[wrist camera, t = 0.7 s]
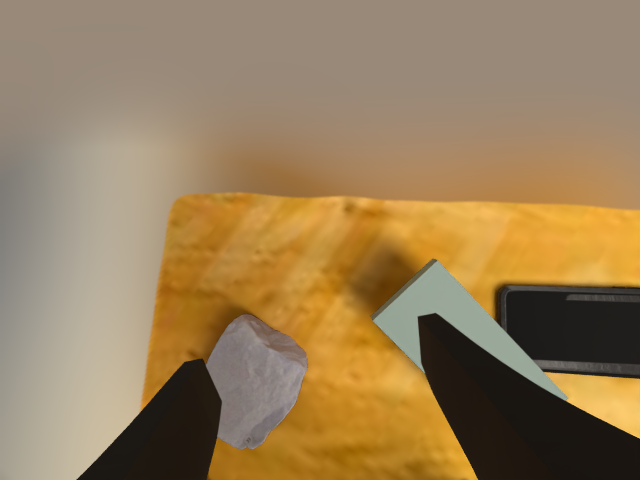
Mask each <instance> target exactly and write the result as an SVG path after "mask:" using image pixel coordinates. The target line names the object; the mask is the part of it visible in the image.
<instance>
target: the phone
mask: <svg viewBox="0 0 640 480" xmlns="http://www.w3.org/2000/svg"><path fill="white" fill-rule="evenodd" d="M498 325H499V326H500V327H501V328H502V329H503V330H504V331H505V332H506V333H507V334H508V335H509V336H510V337H511V338H512V339H513V340H514V342H515V343H516V344H517V345H518V346H519V347H520V348H521V349H522V350H523V351H524V352H525V353H526V354H527V355H528V356H529V357H530V358H531V359H532V361H533V362H534V363H535V364H536V365H537V366H538V367H539V368H540V369H541V370H542V371H543V372H551V373H566V374H580V375H594V376H608V377H623V378H637V379H640V288H627V289H626V288H625V287H613V288H591V287H556V286H520V285H508V286H504V287H502V288H501V289H500V290H499V292H498Z"/></svg>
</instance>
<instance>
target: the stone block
mask: <svg viewBox="0 0 640 480" xmlns="http://www.w3.org/2000/svg"><path fill="white" fill-rule="evenodd" d="M206 367H207V369H208V371H209V374H210V376H211V378H212V380H213V382H214V385H215V387H216V389H217V391H218V393H219V396H220V398H221V400H222V407H221V415H220V423H219V429H218V435H217V437H218V438H220V439H221V440H223V441H224V442H226V443H228V444H230V445H231V446H233V447H235V448H237V449H240V450H242V449H244V448H246V447H248V448H249V449H254V448H255V447H258V446H260V445H261V444H262V443H263V442H264V441H265V439H266V437H267V436H268V434H269V433H270V432H271V431H272V430H273V429H274V428H275V427H276V426H277V425H279V424H280V422H281V421H282V420H283V419H284V418H285V417H286V415H287V414H288V412H289V411H290V410H291V409H292V407H293V406H294V405H295V403H296V401H297V398H298V394H299V392H300V389H301V386H302V381H303V377H304V375H305V373H306V371H307V368H308V362H307V357H306V352H305V351H304V350H303V349H302V348H301V347H300V346H299V345H298V344H297V343H296V342H295V341H294V340H293V339H292V338H291V337H290V336H287V335H285V334H282V333H281V332H280V331H276V330H273V329H272V328H270V327H269V326H268V325H267V324H265V323H264V322H263V321H261V320H259V319H258V318H256V317H254V316H253V315H249V314H244V315H241V316H239V317H238V318H235V319H234V320H233V321H232V322H231V323H230V324H229V325H228V327H227V328H226V330H225V331H224V332H223V334H222V335H221V337H220V338H219V340H218V342H217V344H216V346H215V348H214V349H213V351H212V353H211V355H210V357H209V359H208V361H207V364H206Z"/></svg>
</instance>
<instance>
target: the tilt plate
mask: <svg viewBox="0 0 640 480" xmlns="http://www.w3.org/2000/svg"><path fill="white" fill-rule="evenodd" d="M432 313H437V314H439V315H440V316H441V317H443V318H444V319H445V320H446V321H448V322H449V323H450V324H451V325H453V326H454V327H455V328H457V329H458V330H459V331H460V332H462V333H463V334H464V335H466V336H467V337H468V338H470V339H471V340H472V341H474V342H475V343H476V344H478V345H479V346H480V347H482V348H483V349H485V350H486V351H488V352H489V353H490V354H492V355H493V356H495V357H496V358H497V359H499V360H500V361H502V362H503V363H505V364H506V365H508V366H509V367H511V368H512V369H514V370H515V371H517V372H518V373H520V374H521V375H523V376H524V377H526V378H528V379H529V380H531V381H532V382H534V383H536V384H537V385H539V386H541V387H542V388H544V389H546V390H547V391H549V392H551V393H553V394H554V395H556V396H558V397H560V398H561V399H563V400H565V401H566V400H567V399H568V397H567V396H566V395H565V394H564V393H563V392H562V391H561V390H560V389H559V388H558V387H557V386H556V385H555V384H554V383H553V382H552V381H551V380H550V378H549V377H548V376H547V375H546V374H545V373H544V372H543V371H542V370H541V369H540V368H539V367H538V366H537V365H536V364H535V363H534V362H533V361H532V359H531V358H530V357H529V356H528V355H527V354H526V353H525V352H524V351H523V350H522V349H521V348H520V347H519V346H518V345H517V344H516V343H515V342H514V340H513V339H512V338H511V337H510V336H509V335H508V334H507V333H506V332H505V331H504V330H503V329H502V328H501V327H500V326H499V325H498V324H497V322H496V321H495V320H494V319H493V318H492V317H491V316H490V315H489V314H488V313H487V312H486V311H485V310H484V309H483V308H482V307H481V306H480V305H479V303H478V302H477V301H476V300H475V299H474V298H473V297H472V296H471V295H470V294H469V293H468V292H467V291H466V290H465V289H464V288H463V287H462V286H461V284H460V283H459V282H458V281H457V280H456V279H455V278H454V277H453V276H452V275H451V274H450V273H449V272H448V271H447V270H446V269H445V268H444V267H443V265H442V264H441V263H440V262H439V261H438V260H436V259H432V260H431V261H430V262H429V263H427V264H426V265H425V266H424V267H423V268H422V269H421V270H420V271H419V272H418V273H417V274H416V275H415V276H414V277H412V278H411V279H410V280H409V281H408V282H407V283H406V284H405V285H404V286H403V287H402V288H401V289H400V290H398V291H397V292H396V293H395V294H394V295H393V296H392V297H391V298H390V299H389V300H388V301H387V302H386V303H384V304H383V305H382V306H381V307H380V308H379V309H378V310H377V311H376V312H375V313H374V314H373V315H372V316H371V318H372V320H373V321H374V323H375V324H376V325H377V326H378V327H379V328H380V329H381V330H382V331H383V332H384V333H385V334H386V335H387V336H388V337H389V338H390V339H391V340H392V341H393V342H394V343H395V344H396V345H397V346H398V347H399V348H400V349H401V350H402V351H403V352H404V353H405V354H406V355H407V356H408V357H409V358H410V359H411V360H412V361H413V362H414V363H415V364H416V365H417V366H418V367H419V368H420V369H421V370H422V371H423V372H424V369H423V367H422V364H421V355H420V342H419V329H418V317H417V316H422V315H427V314H432ZM424 373H425V372H424Z"/></svg>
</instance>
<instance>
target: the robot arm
mask: <svg viewBox="0 0 640 480" xmlns="http://www.w3.org/2000/svg"><path fill="white" fill-rule="evenodd" d="M417 317H418V329H419V342H420V355H421V364H422V367H423V369H424V372H425V374H426V377H427V379H428V382H429V384H430V387H431V389H432V392H433V394H434V396H435V398H436V400H437V402H438V404H439V406H440V407H441V409H442V411H443V413H444V415H445V417H446V419H447V421H448V423H449V425H450V426H451V428H452V430H453V432H454V434H455V436H456V438H457V440H458V442H459V443H460V445H461V447H462V449H463V451H464V453H465V455H466V457H467V458H468V460H469V462H470V464H471V466H472V468H473V470H474V472H475V474H476V476H477V478H478V480H640V439H639V438H637V437H635V436H633V435H631V434H629V433H627V432H625V431H623V430H621V429H619V428H617V427H615V426H613V425H611V424H609V423H607V422H605V421H603V420H601V419H599V418H597V417H595V416H593V415H591V414H589V413H587V412H585V411H583V410H581V409H579V408H578V407H576V406H574V405H572V404H570V403H569V402H567V401H565V400H563V399H561V398H560V397H558V396H556V395H554V394H553V393H551V392H549V391H547V390H546V389H544V388H542V387H541V386H539V385H537V384H536V383H534V382H532V381H531V380H529V379H528V378H526V377H524V376H523V375H521V374H520V373H518V372H517V371H515V370H514V369H512V368H511V367H509V366H508V365H506V364H505V363H503V362H502V361H500V360H499V359H497V358H496V357H495V356H493V355H492V354H490V353H489V352H488V351H486V350H485V349H483V348H482V347H480V346H479V345H478V344H476V343H475V342H474V341H472V340H471V339H470V338H468V337H467V336H466V335H464V334H463V333H462V332H460V331H459V330H458V329H457V328H455V327H454V326H453V325H451V324H450V323H449V322H448V321H446V320H445V319H444V318H443V317H441V316H440V315H439V314H437V313H432V314H427V315H422V316H417ZM221 407H222V400H221V398H220V396H219V393H218V391H217V389H216V387H215V385H214V382H213V380H212V378H211V376H210V374H209V371H208V369H207V367H206V365H205V363H204V360H203V359H198V360H193V361H188V362H184V363H183V364H182V366H181V367H180V368H179V369H178V370H177V371H176V372H175V373H174V374H173V375H172V377H171V378H170V379H169V380H168V381H167V382H166V383H165V385H164V386H163V387H162V388H161V389H160V390H159V392H158V393H157V394H156V395H155V396H154V397H153V399H152V400H151V401H150V402H149V403H148V404H147V405H146V406H145V408H144V409H143V410H142V411H141V412H140V413H139V415H138V416H137V417H136V418H135V419H134V420H133V421H132V422H131V423H130V425H129V426H128V427H127V428H126V429H125V430H124V431H123V432H122V433H121V434H120V435H119V436H118V437H117V439H116V440H115V441H114V442H113V443H112V444H111V445H110V446H109V447H108V448H107V449H106V450H105V451H104V452H103V453H102V454H101V456H100V457H99V458H98V459H97V460H96V461H95V462H94V463H93V464H92V465H91V466H90V467H89V468H88V469H87V470H86V471H85V472H84V473H83V474H82V475H81V476H80V477H79V478H78V479H77V480H206V479H207V475H208V471H209V467H210V463H211V459H212V456H213V452H214V448H215V444H216V440H217V435H218V429H219V423H220V415H221Z"/></svg>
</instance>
